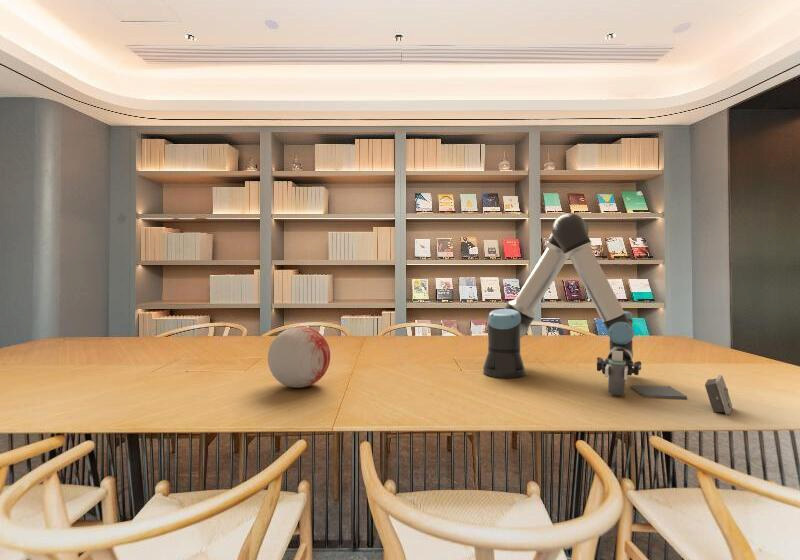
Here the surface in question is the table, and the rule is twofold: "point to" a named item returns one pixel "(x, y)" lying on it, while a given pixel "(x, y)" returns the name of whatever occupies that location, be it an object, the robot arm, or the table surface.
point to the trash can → (616, 373)
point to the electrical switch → (718, 395)
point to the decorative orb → (298, 357)
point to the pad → (658, 391)
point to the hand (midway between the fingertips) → (616, 373)
